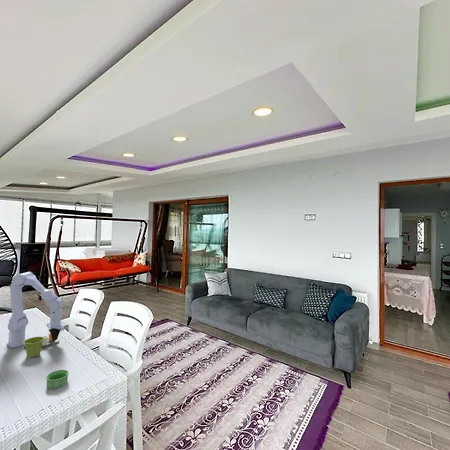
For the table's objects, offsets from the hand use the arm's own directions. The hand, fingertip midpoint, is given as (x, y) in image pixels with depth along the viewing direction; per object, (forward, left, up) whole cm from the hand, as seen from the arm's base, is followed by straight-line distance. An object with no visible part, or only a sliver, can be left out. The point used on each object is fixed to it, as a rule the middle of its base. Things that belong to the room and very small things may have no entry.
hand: (54, 339), depth 163 cm
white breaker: (-2, -5, -1) cm, 6 cm away
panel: (-5, -5, -3) cm, 8 cm away
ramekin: (+46, -19, -3) cm, 49 cm away
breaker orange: (-4, 0, -1) cm, 5 cm away
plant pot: (+6, -14, -3) cm, 15 cm away
